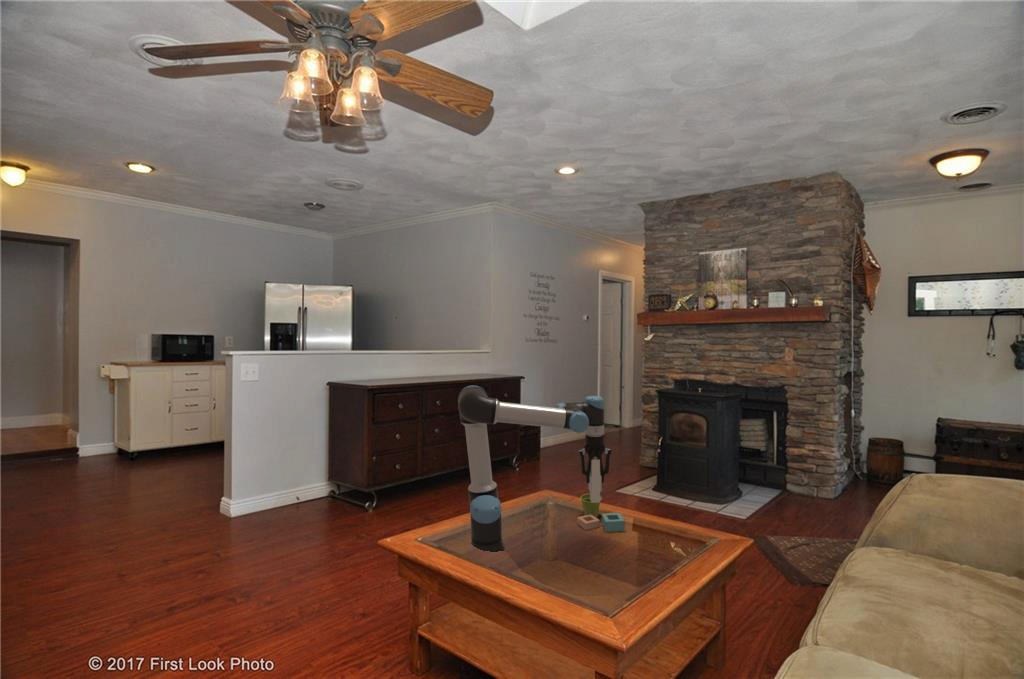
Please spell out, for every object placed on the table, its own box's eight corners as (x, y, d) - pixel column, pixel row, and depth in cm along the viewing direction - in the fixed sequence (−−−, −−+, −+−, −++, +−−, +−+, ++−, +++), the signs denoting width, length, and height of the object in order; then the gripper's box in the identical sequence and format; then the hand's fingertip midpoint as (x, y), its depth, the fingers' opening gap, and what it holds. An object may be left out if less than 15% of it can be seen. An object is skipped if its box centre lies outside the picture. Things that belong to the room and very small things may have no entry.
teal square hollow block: (605, 532, 233) (605, 521, 233) (601, 523, 241) (601, 513, 241) (624, 531, 234) (624, 520, 233) (619, 522, 242) (619, 512, 241)
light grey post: (591, 502, 226) (591, 456, 224) (590, 499, 230) (589, 453, 228) (600, 502, 227) (599, 455, 224) (598, 499, 230) (598, 453, 228)
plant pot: (603, 520, 244) (603, 501, 243) (581, 521, 244) (581, 502, 243) (600, 511, 253) (600, 493, 252) (579, 512, 254) (579, 493, 253)
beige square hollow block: (585, 530, 235) (585, 523, 235) (577, 523, 242) (577, 517, 241) (599, 527, 238) (599, 520, 238) (591, 520, 244) (591, 514, 244)
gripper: (576, 437, 221) (576, 494, 224) (617, 436, 222) (617, 492, 224) (573, 432, 228) (573, 487, 231) (612, 431, 229) (612, 486, 232)
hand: (594, 490), depth 228 cm, fingers closed on light grey post, 3 cm apart
